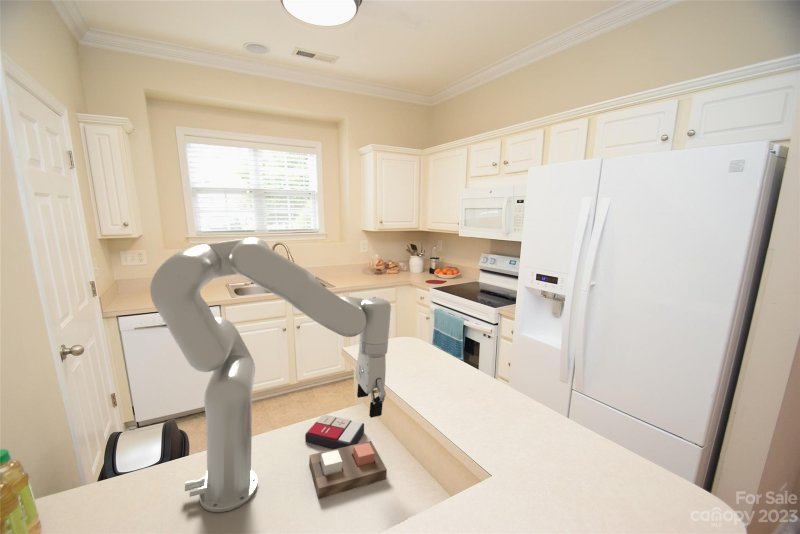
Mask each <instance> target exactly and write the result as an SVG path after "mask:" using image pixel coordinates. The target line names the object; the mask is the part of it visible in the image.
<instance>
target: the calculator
mask: <svg viewBox="0 0 800 534" xmlns="http://www.w3.org/2000/svg"><path fill="white" fill-rule="evenodd" d="M364 434H365V423H363V422H360V421H355V420H351V419H348V418H343V417H339V416H335V415H329V414H325V413H324V414H321V416H320V417H319V418H318V419H317V420H316V422H315V423H314V424H313V425H312V426H311V427H310V428H309V429H308V430H307V431H306V432H305V436H304V437H305V438H304V440H305V443H307V444H310V443H311V445H314V446H317V447H321V448H324V449H329V450H334V449H338V448H342V447H347V446H351V445H355V444H359V443H360V441H361V439H362V437H363V436H364Z"/></svg>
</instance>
